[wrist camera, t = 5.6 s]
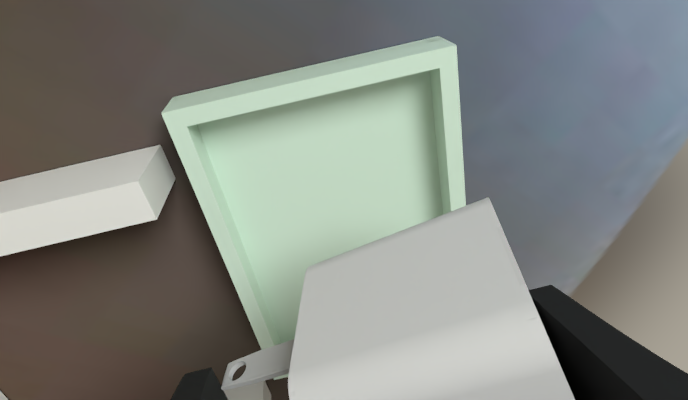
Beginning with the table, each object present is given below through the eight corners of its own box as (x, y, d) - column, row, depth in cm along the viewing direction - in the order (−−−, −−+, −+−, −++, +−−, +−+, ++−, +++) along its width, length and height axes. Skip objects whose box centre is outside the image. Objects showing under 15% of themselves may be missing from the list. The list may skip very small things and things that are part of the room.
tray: (459, 304, 18) (473, 331, 17) (274, 349, 18) (274, 380, 17) (438, 36, 13) (456, 45, 12) (173, 97, 13) (161, 113, 11)
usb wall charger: (533, 302, 11) (605, 470, 8) (302, 372, 13) (282, 529, 10) (483, 183, 9) (549, 339, 6) (222, 286, 11) (163, 445, 8)
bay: (271, 395, 20) (270, 449, 17) (27, 454, 19) (-4, 517, 17) (160, 144, 13) (138, 181, 11) (-201, 228, 13) (-295, 282, 11)
